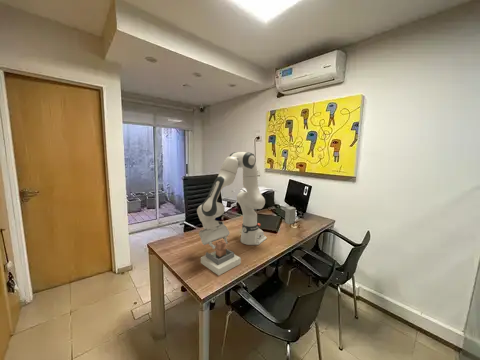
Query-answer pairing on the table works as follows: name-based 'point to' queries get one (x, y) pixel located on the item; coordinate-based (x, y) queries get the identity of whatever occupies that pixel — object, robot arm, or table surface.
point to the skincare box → (290, 215)
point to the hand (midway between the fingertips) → (220, 246)
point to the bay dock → (220, 262)
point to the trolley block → (220, 249)
